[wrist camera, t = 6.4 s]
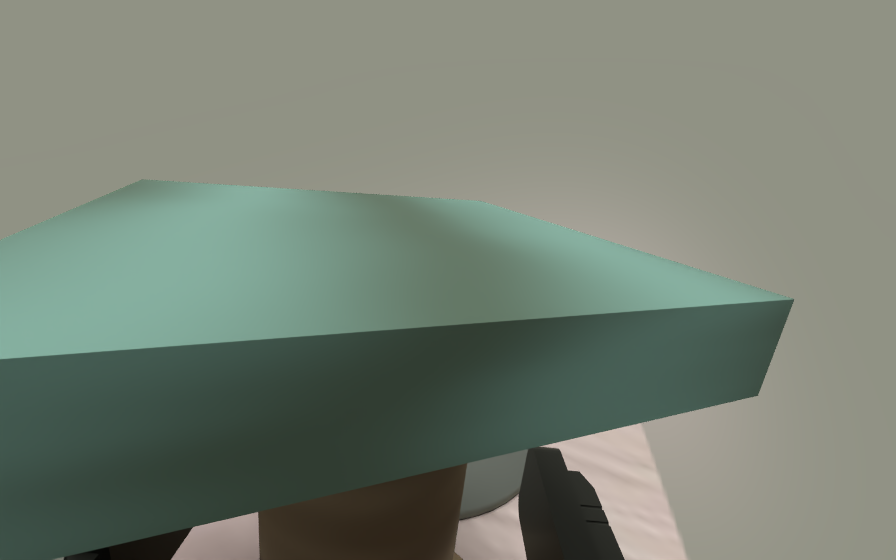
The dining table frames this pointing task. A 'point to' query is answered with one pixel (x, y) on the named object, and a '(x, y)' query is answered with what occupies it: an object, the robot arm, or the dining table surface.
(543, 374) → the stool
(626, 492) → the dining table surface
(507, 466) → the mat
